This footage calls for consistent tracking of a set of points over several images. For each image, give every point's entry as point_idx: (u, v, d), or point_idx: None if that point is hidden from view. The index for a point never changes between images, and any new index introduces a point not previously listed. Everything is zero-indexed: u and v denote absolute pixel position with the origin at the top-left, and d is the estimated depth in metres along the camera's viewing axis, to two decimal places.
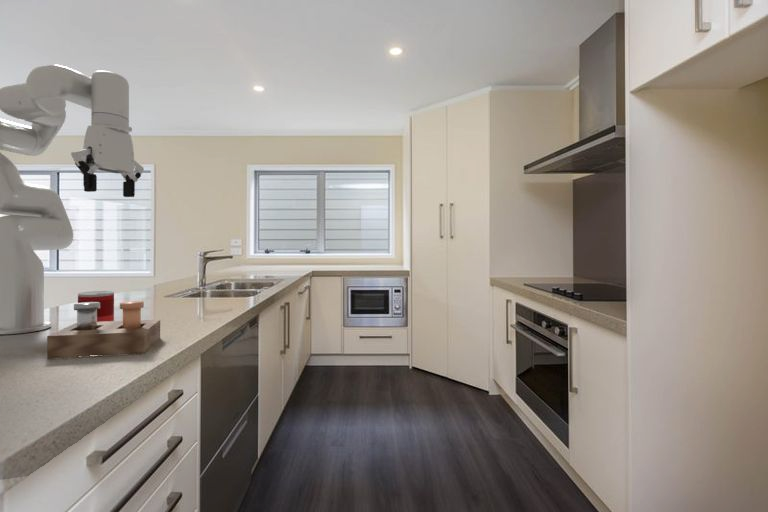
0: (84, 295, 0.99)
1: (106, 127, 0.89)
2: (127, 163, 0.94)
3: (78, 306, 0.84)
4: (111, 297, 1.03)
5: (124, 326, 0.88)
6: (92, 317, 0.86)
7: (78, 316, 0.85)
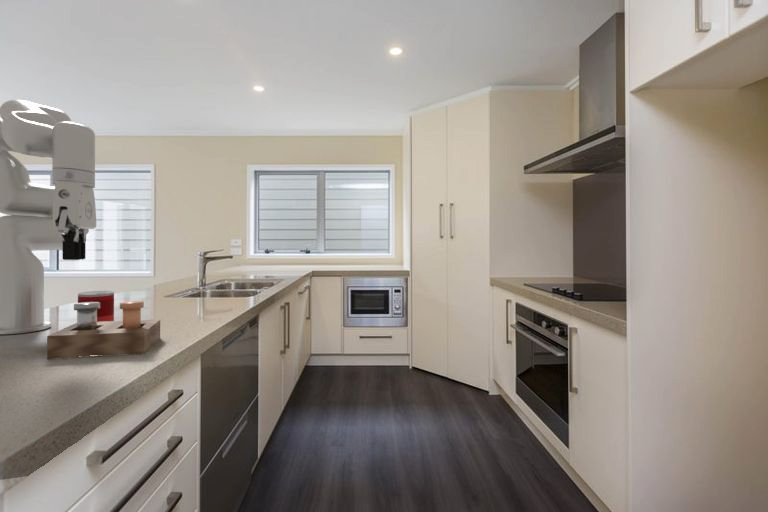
0: (84, 295, 0.99)
1: None
2: None
3: (78, 306, 0.84)
4: (111, 297, 1.03)
5: (124, 326, 0.88)
6: (92, 317, 0.86)
7: (78, 316, 0.85)
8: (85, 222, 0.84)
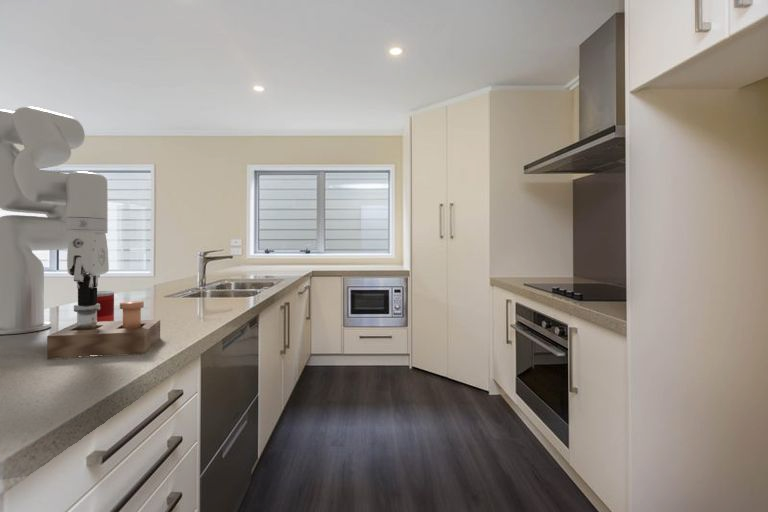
0: None
1: None
2: None
3: (78, 307, 0.84)
4: (111, 297, 1.03)
5: (124, 326, 0.88)
6: (92, 318, 0.86)
7: (78, 317, 0.85)
8: (98, 269, 0.86)
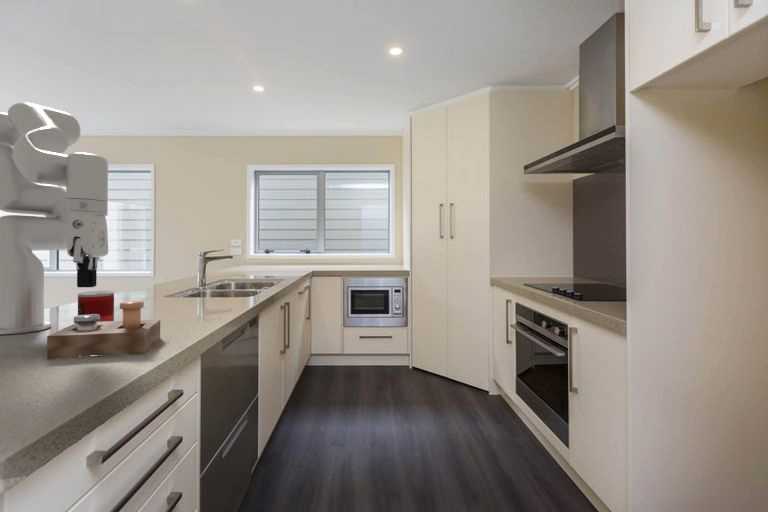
0: (84, 295, 0.99)
1: None
2: None
3: (78, 319, 0.84)
4: (111, 297, 1.03)
5: (124, 326, 0.88)
6: (92, 329, 0.86)
7: (78, 329, 0.85)
8: (98, 251, 0.86)
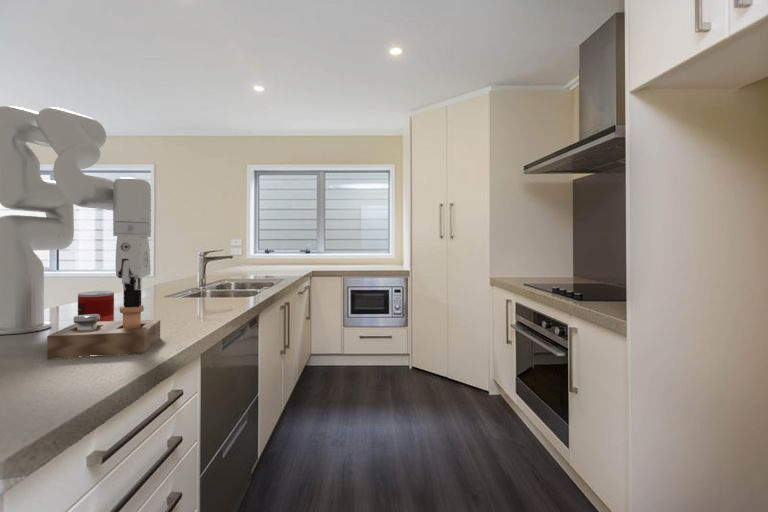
0: (84, 295, 0.99)
1: None
2: None
3: (78, 319, 0.84)
4: (111, 297, 1.03)
5: None
6: (92, 329, 0.86)
7: (78, 329, 0.85)
8: (143, 271, 0.88)
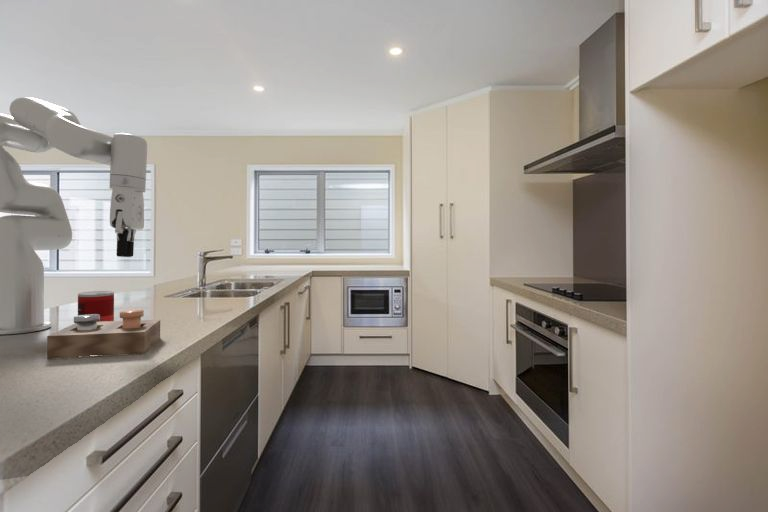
0: (84, 295, 0.99)
1: None
2: None
3: (78, 319, 0.84)
4: (111, 297, 1.03)
5: None
6: (92, 329, 0.86)
7: (78, 329, 0.85)
8: (136, 224, 0.94)
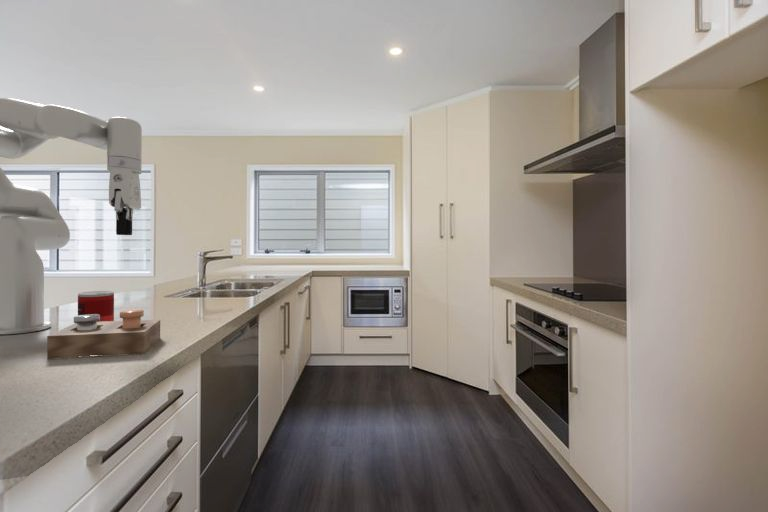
0: (84, 295, 0.99)
1: None
2: None
3: (78, 319, 0.84)
4: (111, 297, 1.03)
5: None
6: (92, 329, 0.86)
7: (78, 329, 0.85)
8: (134, 203, 0.99)
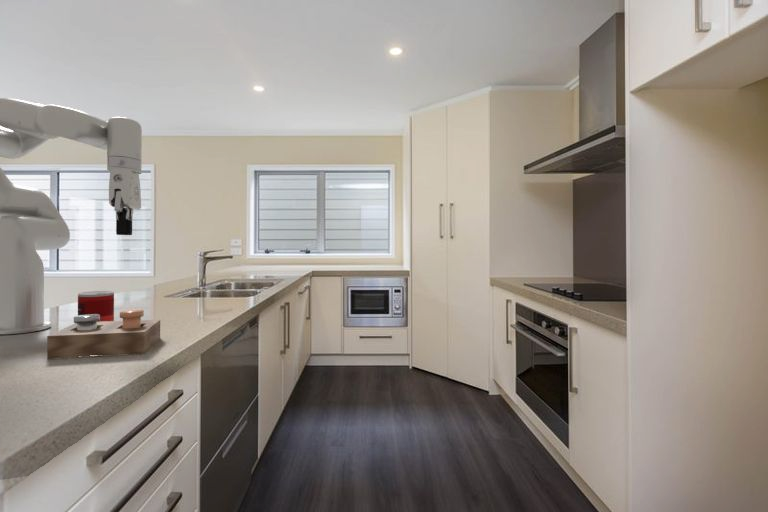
0: (84, 295, 0.99)
1: None
2: None
3: (78, 319, 0.84)
4: (111, 297, 1.03)
5: None
6: (92, 329, 0.86)
7: (78, 329, 0.85)
8: (134, 203, 0.99)
